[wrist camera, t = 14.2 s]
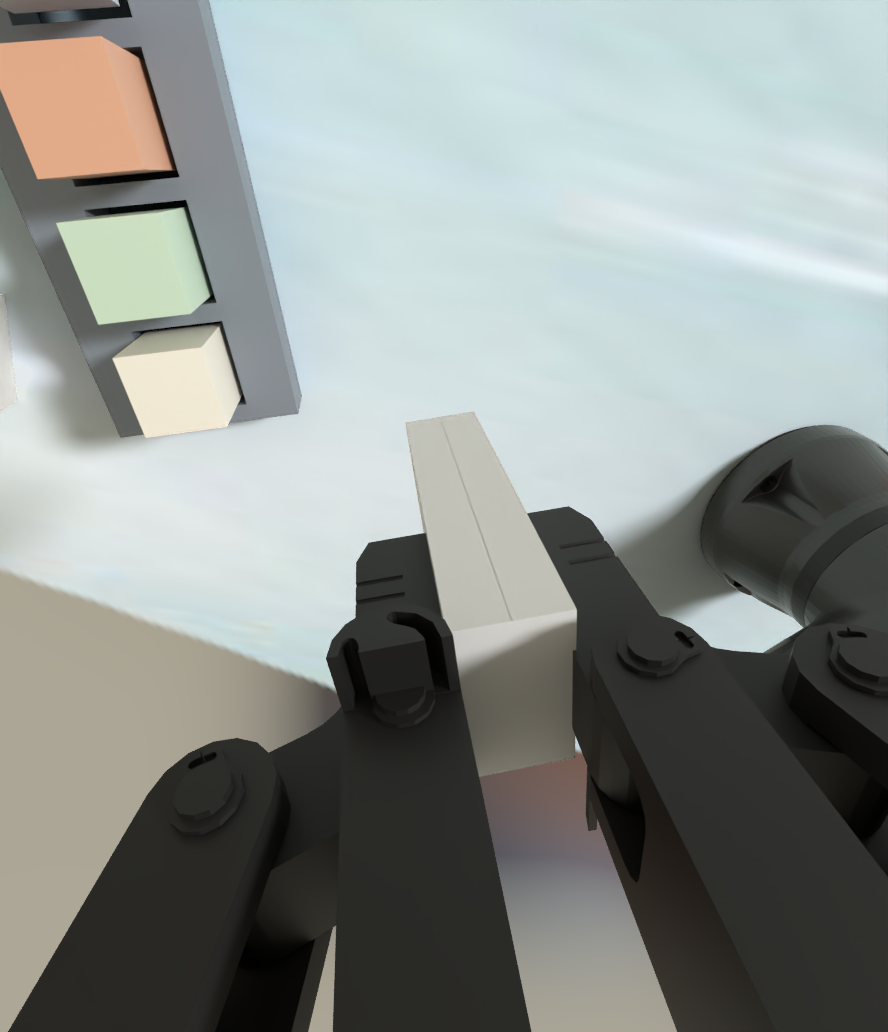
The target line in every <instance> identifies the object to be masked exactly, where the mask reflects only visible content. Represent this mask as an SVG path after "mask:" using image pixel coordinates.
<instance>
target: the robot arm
mask: <svg viewBox="0 0 888 1032" xmlns="http://www.w3.org/2000/svg"><path fill="white" fill-rule="evenodd" d="M406 429H407V435H408V441H409V447H410V453H411V459H412V465H413V471H414V477H415V483H416V489H417V495H418V501H419V507H420V513H421V519H422V525H423V531H424V533H423V534H417V535H411V536H405V537H400V538H394V539H388V540H382V541H376V542H371V543H368V545H367V546H366V548H365V550H364V551H363V553H362V554H361V556H360V558H359V559H358V561H357V562H356V585H357V587H356V604H357V605H356V618H355V619H353V620H352V621H350V622H349V623H347V624H346V625H345V626H344V627H343V628H342V629H341V630H340V632H339V633H338V634H337V635H336V636H335V637H334V638H333V640H332V642H331V645H330V648H329V651H328V654H327V657H326V660H327V663H328V666H329V669H330V672H331V676H332V679H333V682H334V685H335V688H336V691H337V694H338V697H339V700H340V703H341V707H340V709H339V710H338V711H337V712H336V713H335V714H334V715H333V716H332V717H331V718H330V719H329V720H327V721H326V722H325V723H324V724H323V725H321V726H320V727H318V728H316V729H315V730H313V731H311V732H310V733H308V734H306V735H304V736H302V737H300V738H298V739H296V740H294V741H292V742H290V743H288V744H286V745H284V746H282V747H279V748H278V749H275V750H274V751H272V752H269V753H268V752H267V751H266V750H265V749H264V748H263V747H261V746H260V745H259V744H258V743H257V742H252V741H248V740H243V739H239V738H235V739H228V740H222V741H216V742H212V743H210V744H208V745H205V746H203V747H201V748H199V749H197V750H195V751H192V752H190V753H188V754H187V755H186V756H185V757H183V758H182V759H181V760H180V761H178V762H177V763H176V764H174V765H173V766H172V767H171V768H169V769H168V770H167V771H166V772H165V773H164V774H163V776H162V777H161V778H160V779H159V781H158V782H157V783H156V785H155V786H154V787H153V788H152V790H151V791H150V792H149V793H148V795H147V796H146V798H145V800H144V801H143V803H142V805H141V807H140V809H139V810H138V812H137V814H136V815H135V817H134V818H133V820H132V822H131V824H130V825H129V827H128V829H127V830H126V832H125V834H124V835H123V837H122V839H121V841H120V842H119V844H118V846H117V847H116V849H115V851H114V853H113V854H112V856H111V858H110V859H109V861H108V863H107V864H106V866H105V868H104V870H103V871H102V873H101V875H100V876H99V878H98V880H97V882H96V883H95V885H94V887H93V888H92V890H91V892H90V894H89V895H88V897H87V898H86V900H85V902H84V904H83V905H82V907H81V909H80V911H79V912H78V914H77V916H76V917H75V919H74V921H73V922H72V924H71V926H70V927H69V929H68V931H67V932H66V934H65V936H64V938H63V939H62V941H61V943H60V944H59V946H58V948H57V949H56V951H55V953H54V955H53V956H52V958H51V960H50V961H49V963H48V965H47V966H46V968H45V970H44V972H43V973H42V975H41V977H40V978H39V980H38V982H37V984H36V985H35V987H34V989H33V990H32V992H31V994H30V995H29V997H28V999H27V1001H26V1002H25V1004H24V1006H23V1007H22V1009H21V1011H20V1012H19V1014H18V1016H17V1017H16V1019H15V1021H14V1023H13V1024H12V1026H11V1028H10V1029H9V1031H8V1032H308V1030H309V1025H310V1021H311V1017H312V1013H313V1009H314V1004H315V1000H316V996H317V992H318V988H319V983H320V979H321V975H322V970H323V967H324V962H325V958H326V954H327V949H328V946H329V941H330V937H331V933H332V929H333V927H334V926H336V951H335V981H334V982H335V983H334V1012H333V1032H531V1028H530V1023H529V1018H528V1013H527V1008H526V1004H525V999H524V994H523V989H522V984H521V979H520V975H519V970H518V965H517V960H516V955H515V950H514V945H513V941H512V935H511V930H510V926H509V921H508V916H507V911H506V906H505V902H504V896H503V891H502V887H501V882H500V877H499V873H498V867H497V862H496V858H495V852H494V848H493V843H492V838H491V833H490V828H489V823H488V819H487V814H486V809H485V804H484V799H483V794H482V789H481V784H480V780H479V777H480V776H485V775H490V774H495V773H500V772H505V771H510V770H516V769H521V768H526V767H531V766H536V765H541V764H546V763H552V762H557V761H561V760H567V759H572V758H575V736H576V738H577V741H578V743H579V746H580V748H581V751H582V753H583V756H584V758H585V761H586V763H587V790H586V793H587V794H586V818H587V825H588V830H589V831H591V830H596V828H597V819H598V822H599V825H600V827H601V830H602V832H603V835H604V838H605V840H606V843H607V846H608V848H609V851H610V854H611V856H612V859H613V862H614V864H615V867H616V870H617V872H618V875H619V878H620V880H621V883H622V886H623V888H624V891H625V894H626V896H627V899H628V902H629V904H630V907H631V910H632V912H633V915H634V918H635V920H636V923H637V926H638V928H639V931H640V934H641V936H642V939H643V941H644V944H645V947H646V950H647V952H648V955H649V957H650V960H651V963H652V966H653V968H654V971H655V974H656V976H657V979H658V981H659V984H660V986H661V990H662V992H663V995H664V998H665V1000H666V1003H667V1006H668V1008H669V1011H670V1013H671V1016H672V1019H673V1022H674V1024H675V1027H676V1029H677V1032H888V452H887V450H885V449H884V448H883V447H882V446H880V445H879V444H878V443H876V442H874V441H873V440H871V439H869V438H867V437H865V436H863V435H861V434H859V433H857V432H855V431H853V430H851V429H848V428H845V427H840V426H834V425H820V426H812V427H807V428H803V429H799V430H796V431H793V432H790V433H787V434H785V435H783V436H780V437H778V438H776V439H774V440H772V441H771V442H769V443H767V444H765V445H764V446H762V447H761V448H759V449H758V450H756V451H755V452H754V453H752V454H751V455H750V456H748V457H747V458H746V459H745V460H744V461H742V462H741V463H740V464H739V465H738V466H737V467H736V468H735V469H734V470H733V471H732V472H731V473H730V474H729V475H728V477H727V478H726V479H725V480H724V481H723V483H722V484H721V485H720V487H719V488H718V490H717V491H716V493H715V494H714V496H713V498H712V500H711V502H710V504H709V506H708V508H707V510H706V513H705V516H704V519H703V523H702V529H701V545H702V550H703V553H704V555H705V558H706V560H707V561H708V563H709V564H710V565H711V566H712V567H713V569H714V570H715V571H716V572H717V573H718V574H719V575H720V576H721V577H722V578H723V579H724V580H725V581H726V582H727V583H728V584H730V585H731V586H732V587H734V588H735V589H737V590H739V591H741V592H743V593H745V594H748V595H751V596H753V597H755V598H756V599H758V600H760V601H761V602H763V603H765V604H767V605H769V606H771V607H773V608H775V609H777V610H779V611H781V612H783V613H785V614H787V615H789V616H791V617H793V618H794V619H795V620H796V621H797V622H798V623H799V624H800V625H801V626H802V627H803V629H801V630H800V631H798V632H797V633H795V634H793V635H792V636H790V637H788V638H786V639H784V640H783V641H781V642H780V643H778V644H776V645H775V646H773V647H772V648H770V649H769V650H767V651H765V652H764V653H754V652H739V651H730V650H724V649H717V648H713V647H710V645H709V644H708V643H707V642H706V641H705V640H704V639H703V638H702V637H701V636H699V635H698V634H697V633H696V632H695V631H694V630H693V629H692V628H690V627H688V626H686V625H684V624H682V623H680V622H677V621H675V620H673V619H671V618H667V617H662V616H659V615H658V613H657V612H656V611H655V609H654V608H653V606H652V605H651V604H650V602H649V601H648V599H647V598H646V597H645V595H644V594H643V592H642V591H641V589H640V588H639V587H638V585H637V584H636V582H635V581H634V580H633V578H632V577H631V575H630V574H629V573H628V571H627V570H626V568H625V567H624V565H623V564H622V563H621V561H620V560H619V558H618V557H615V555H614V551H613V550H612V549H611V547H610V546H609V544H608V543H607V542H606V541H604V537H603V536H602V534H601V533H600V532H599V530H598V529H597V527H596V526H595V525H594V523H593V522H592V520H591V519H589V518H587V517H586V516H584V515H582V514H581V513H579V512H577V511H576V510H574V509H572V508H570V507H569V506H568V507H562V508H557V509H551V510H545V511H539V512H533V513H526V511H525V509H524V507H523V505H522V503H521V501H520V499H519V497H518V496H517V494H516V492H515V490H514V488H513V486H512V484H511V482H510V480H509V478H508V476H507V474H506V472H505V471H504V469H503V467H502V465H501V463H500V461H499V459H498V457H497V455H496V453H495V451H494V449H493V448H492V446H491V444H490V442H489V440H488V438H487V436H486V434H485V432H484V430H483V428H482V426H481V424H480V423H479V421H478V419H477V417H476V415H475V413H474V412H469V413H463V414H457V415H450V416H444V417H438V418H432V419H426V420H419V421H413V422H407V423H406Z"/></svg>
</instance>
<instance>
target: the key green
mask: <svg viewBox="0 0 888 1032" xmlns="http://www.w3.org/2000/svg"><path fill="white" fill-rule="evenodd" d="M56 224H57V227H58V229H59V232H60V234H61V236H62V239H63V241H64V244H65V246H66V248H67V251H68V253H69V256H70V258H71V260H72V263H73V265H74V268H75V270H76V272H77V275H78V277H79V280H80V282H81V284H82V287H83V289H84V292H85V294H86V296H87V299H88V301H89V304H90V306H91V308H92V311H93V313H94V316H95V318H96V320H97V323H98V325H100V324H109V323H117V322H126V321H134V320H143V319H152V318H160V317H169V316H177V315H186V314H191V313H192V312H193V311H194V310H196V309H197V308H198V307H199V306H200V305H201V304H202V303H203V302H204V301H206V300H207V299H208V298H209V297H210V296H211V295H212V294H213V291H212V288H211V285H210V281H209V278H208V274H207V271H206V268H205V264H204V261H203V257H202V254H201V251H200V247H199V244H198V241H197V237H196V234H195V230H194V227H193V224H192V220H191V217H190V214H189V210H188V207H180V208H170V209H160V210H150V211H140V212H130V213H120V214H110V215H101V216H95V217H89V218H83V219H77V220H71V221H64V222H58V223H56Z"/></svg>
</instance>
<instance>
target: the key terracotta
mask: <svg viewBox="0 0 888 1032" xmlns="http://www.w3.org/2000/svg"><path fill="white" fill-rule="evenodd" d="M0 90H1V92H2V95H3V97H4V100H5V102H6V104H7V107H8V109H9V112H10V114H11V116H12V119H13V121H14V124H15V126H16V128H17V131H18V133H19V136H20V138H21V140H22V143H23V145H24V148H25V150H26V152H27V155H28V157H29V160H30V162H31V164H32V167H33V169H34V172H35V174H36V176H37V179H90V178H101V177H112V176H122V175H133V174H143V173H154V172H165V171H175V170H176V166H175V163H174V159H173V156H172V153H171V149H170V146H169V143H168V139H167V136H166V132H165V129H164V126H163V122H162V119H161V115H160V112H159V109H158V105H157V102H156V99H155V95H154V92H153V88H152V85H151V82H150V78H149V75H148V71H147V68H146V65H145V61H144V60H142V59H140V58H138V57H137V56H135V55H133V54H131V53H130V52H128V51H126V50H124V49H123V48H121V47H119V46H117V45H116V44H114V43H112V42H110V41H109V40H107V39H105V38H103V37H102V36H94V37H80V38H67V39H53V40H39V41H25V42H12V43H0Z"/></svg>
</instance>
